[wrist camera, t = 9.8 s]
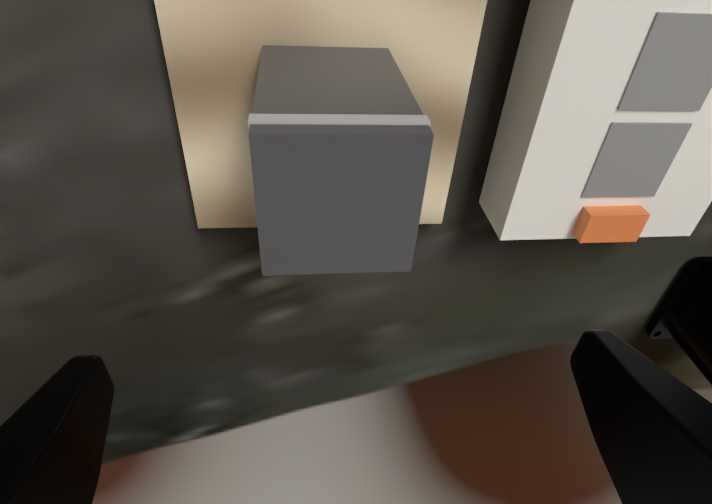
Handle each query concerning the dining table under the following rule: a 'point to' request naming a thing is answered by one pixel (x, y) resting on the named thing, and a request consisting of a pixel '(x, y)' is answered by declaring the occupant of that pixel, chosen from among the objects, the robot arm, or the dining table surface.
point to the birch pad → (305, 28)
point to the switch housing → (605, 123)
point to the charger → (336, 161)
